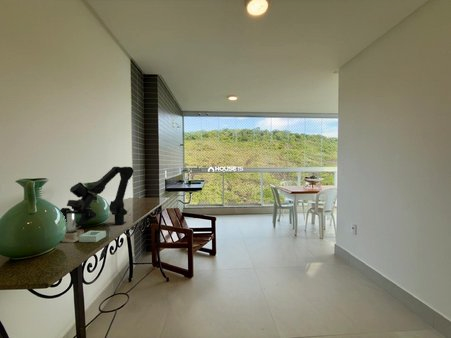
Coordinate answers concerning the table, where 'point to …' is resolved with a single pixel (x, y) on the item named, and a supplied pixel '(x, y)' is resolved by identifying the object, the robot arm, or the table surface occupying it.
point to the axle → (71, 223)
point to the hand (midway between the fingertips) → (69, 226)
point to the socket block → (92, 236)
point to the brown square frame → (73, 236)
